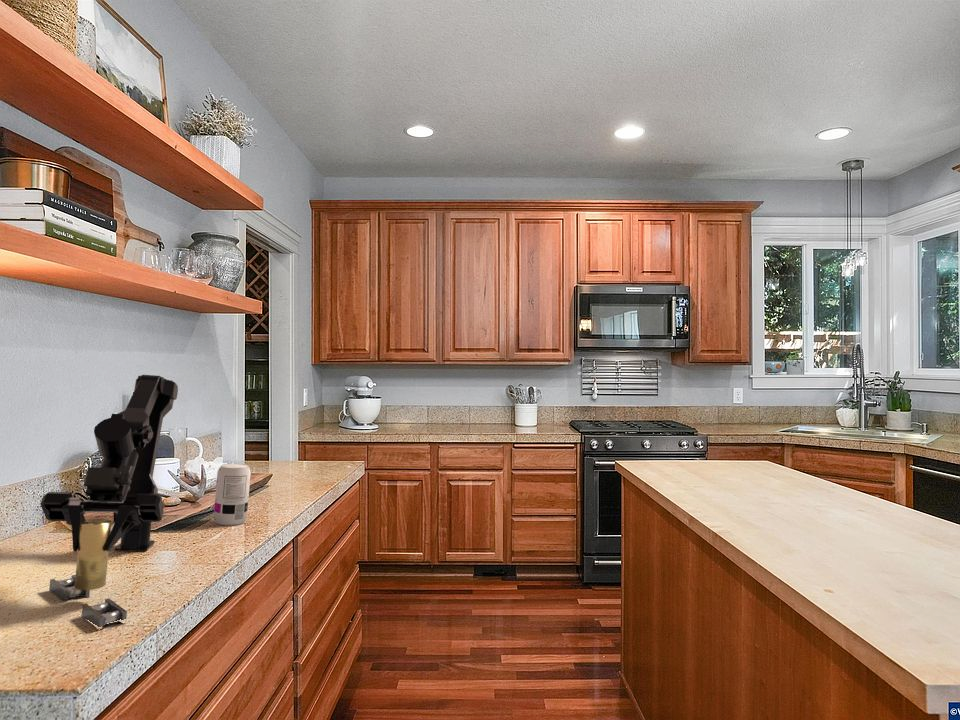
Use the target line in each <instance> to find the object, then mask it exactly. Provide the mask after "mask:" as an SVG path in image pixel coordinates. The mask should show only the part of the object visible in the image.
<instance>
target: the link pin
mask: <svg viewBox="0 0 960 720" xmlns="http://www.w3.org/2000/svg"><path fill="white" fill-rule="evenodd" d="M111 526H112V520H110V519H106V518H95V519H94V518H92V519H85V521H82V522H81V523H80V532H79V543H78V549H77V555H76V568H75V575H76V576H75V586H74V587H75V589H78V590H90V591H91V590H92V591H93V590H98V589H101V588H103V587H105V586H106V584H107V583H106V582H107V574H108V563H109V552H110V551H106V545H107V541H108V538H109V536H110V530H111Z"/></svg>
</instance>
